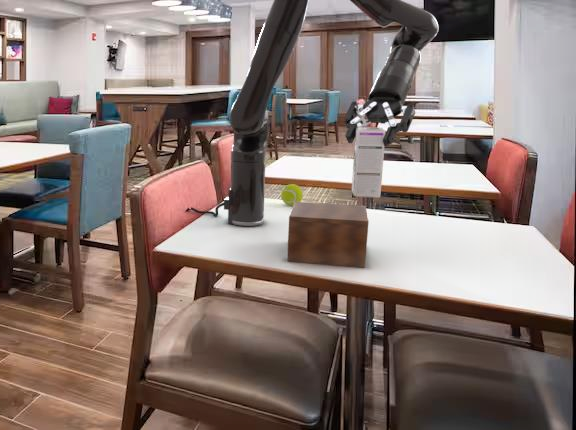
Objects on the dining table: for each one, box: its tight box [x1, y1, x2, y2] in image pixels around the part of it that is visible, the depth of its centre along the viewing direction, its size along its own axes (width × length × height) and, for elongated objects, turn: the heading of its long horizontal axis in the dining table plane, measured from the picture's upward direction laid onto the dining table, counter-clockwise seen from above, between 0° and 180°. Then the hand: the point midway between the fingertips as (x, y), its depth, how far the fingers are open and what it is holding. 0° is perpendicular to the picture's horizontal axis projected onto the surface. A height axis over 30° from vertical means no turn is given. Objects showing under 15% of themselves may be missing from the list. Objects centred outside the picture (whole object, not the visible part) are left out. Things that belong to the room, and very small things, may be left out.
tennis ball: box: [280, 183, 304, 207], centre depth 169 cm, size 7×7×7 cm
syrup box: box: [351, 126, 386, 199], centre depth 117 cm, size 6×6×14 cm
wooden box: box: [286, 201, 369, 269], centre depth 120 cm, size 16×15×10 cm
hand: (366, 142), depth 115 cm, fingers closed on syrup box, 7 cm apart
